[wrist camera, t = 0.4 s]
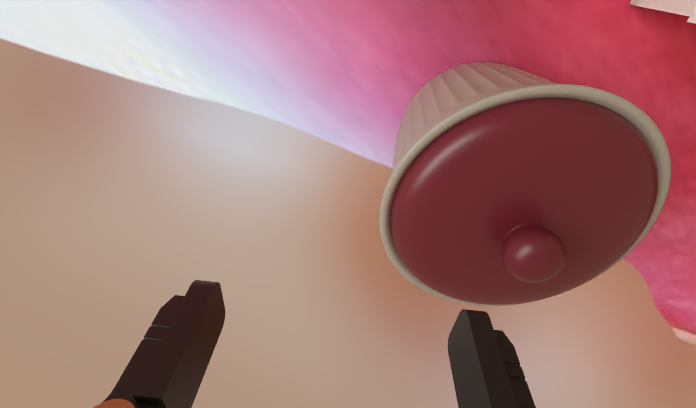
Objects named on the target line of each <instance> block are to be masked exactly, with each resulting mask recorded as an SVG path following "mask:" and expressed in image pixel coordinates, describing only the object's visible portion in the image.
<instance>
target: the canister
mask: <svg viewBox="0 0 696 408" xmlns="http://www.w3.org/2000/svg"><path fill="white" fill-rule="evenodd" d="M670 179H671V160H670V154H669V150H668V146H667V143H666V141H665V139H664V136H663V135H662V133H661V131H660V129H659V128H658V126H657V125H656V124H655V123H654V121H653V120H652V119H651V118H650V117H649V116H648V115H647V114H646V113H645V112H644V111H642V110H641V109H640V108H639V107H637V106H636V105H634V104H633V103H631V102H630V101H628V100H626V99H624V98H622V97H620V96H618V95H616V94H613V93H611V92H608V91H605V90H602V89H598V88H594V87H589V86H583V85H575V84H557V83H554V82H552V81H550V80H547V79H545V78H542V77H540V76H537V75H534V74H531V73H528V72H525V71H523V70H520V69H517V68H514V67H511V66H508V65H505V64H500V63H497V64H495V63H492V62H483V63H480V62H472V63H469V64H461V65H459V66H457V67H451V68H449V69H448V70H446V71H444V72H442V73H439V74H438V75H437V76H436V77H434V78H433V79H430V80H428V82H427V83H426V84H425V85H424V86H423V87H421V88H420V89H419V91H418V92H417V94H416V95H415V96H413V97H412V99H411V102H410V103H409V105H408V106H407V107H406V109H405V113H404V115H403V117H402V118H401V122H400V128H399V130H398V135H397V141H396V146H395V154H394V163H393V172H392V175H391V177H390V179H389V181H388V183H387V185H386V188H385V191H384V194H383V197H382V201H381V207H380V217H379V221H380V222H379V223H380V233H381V238H382V242H383V245H384V248H385V250H386V253H387V255H388V256H389V258H390V259H391V261H392V263H393V264H394V266H395V267H396V268H397V269H398V271H399V272H400V273H401V274H402V275H403V276H404V277H405V278H407V279H408V280H409V281H410V282H412V283H413V284H414V285H416V286H417V287H419V288H421V289H422V290H424V291H426V292H428V293H430V294H433V295H435V296H437V297H440V298H443V299H446V300H449V301H453V302H457V303H463V304H469V305H479V306H505V305H515V304H522V303H528V302H533V301H537V300H541V299H545V298H549V297H552V296H555V295H558V294H561V293H563V292H566V291H569V290H571V289H573V288H576V287H578V286H580V285H582V284H584V283H586V282H588V281H590V280H592V279H593V278H595V277H597V276H598V275H600V274H602V273H603V272H605V271H606V270H608V269H609V268H611V267H612V266H614V265H615V264H616V263H618V262H619V261H620V260H621V259H622V258H624V257H625V256H626V255H627V254H628V253H629V252H630V251H631V250H632V249H633V248H634V247H635V246H636V245H637V244H638V243H639V242H640V241H641V240H642V239H643V238H644V236H645V235H646V234H647V233H648V231H649V230H650V229H651V227H652V226H653V224H654V223H655V221H656V219H657V217H658V216H659V214H660V212H661V210H662V208H663V205H664V203H665V200H666V197H667V194H668V190H669V185H670Z"/></svg>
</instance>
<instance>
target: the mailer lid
mask: <svg viewBox="0 0 696 408" xmlns="http://www.w3.org/2000/svg"><path fill="white" fill-rule="evenodd" d="M687 22H690V23H695V24H696V7H695V8H694V10H693V12H692V13H691V15H690V17H689V19H688V20H687Z"/></svg>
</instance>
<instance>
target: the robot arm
mask: <svg viewBox="0 0 696 408" xmlns="http://www.w3.org/2000/svg"><path fill="white" fill-rule="evenodd" d="M224 319H225V307H224V302H223V296H222V291H221V286H220V284H219V283H218V282H210V281H200V280H195V281H194V282H193V283H192V284H191V286H190V288H189V289H188V292H187V293H186V295H185V296H177V295H175V296H174V297H173V298H171V299H170V300H169V301H168V302H167V303H166V304H165V305H164V306H163V307H161V309H160V310H159V312H158V314H157V315H156V317H155V319H154V321H153V322H152V326H151V327H150V328H149V329H148V331H147V333H146V334H145V336H144V340H142V341H141V343H140V345H139V346H138V348H137V350H136V352H135V353H134V355H133V357H132V358H131V360H130V362H129V364H128V365H127V367H126V369H125V370H124V372H123V374H122V376H121V377H120V379H119V381H118V382H117V384H116V386H115V388H114V389H113V391H112V392H111V394H110V395H109V396H108V397H107V398H106V399H105V400H104V401H103V402H102V403H100V404H99V405H97V406H95V407H94V408H191V407H192V404H193V401H194V399H195V397H196V394H197V392H198V389H199V387H200V384H201V382H202V379H203V376H204V374H205V371H206V369H207V366H208V364H209V361H210V358H211V356H212V353H213V351H214V348H215V346H216V343H217V341H218V338H219V335H220V333H221V330H222V328H223V324H224ZM448 353H449V359H450V364H451V370H452V375H453V380H454V386H455V391H456V396H457V402H458V407H459V408H536V407H535V405H534V402H533V399H532V396H531V393H530V391H529V388H528V385H527V382H526V381H525V376H524V373H523V371H522V368H521V367H520V363H519V359H518V356H517V354H516V351H515V348H514V346H513V344H512V343H511V342H510V340H509V339H508V338H507V336H506V335H505V334H504V332H503V331H499V330H493V327H492V324H491V321H490V318H489V315H488V314H487V313H486V312H483V311H473V310H464V309H463V310H461V312H460V313H459V316H458V318H457V320H456V322H455V324H454V326H453V328H452V331H451V332H450V335H449V339H448Z"/></svg>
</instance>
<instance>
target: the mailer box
mask: <svg viewBox="0 0 696 408" xmlns="http://www.w3.org/2000/svg"><path fill="white" fill-rule="evenodd" d="M630 5H635V6H640V7H645V8H650V9H655V10H660V11H665V12H670V13H675V14H680V15H685V16H690V15H691V13H692V12H693V10H694V8H695V7H696V0H631V2H630Z"/></svg>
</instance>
